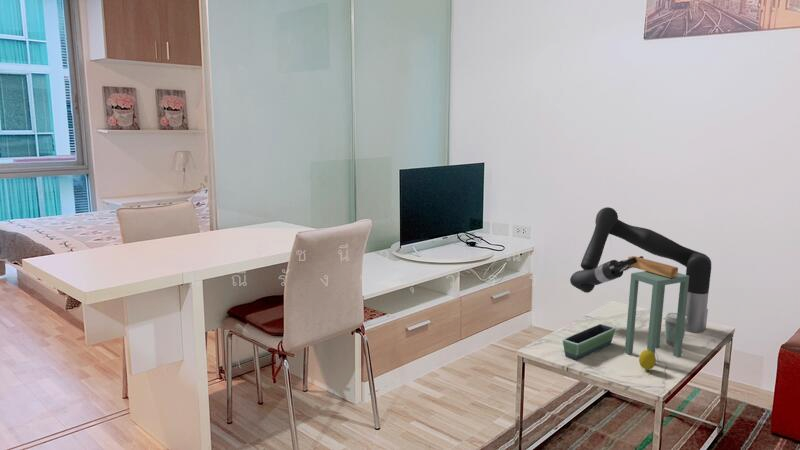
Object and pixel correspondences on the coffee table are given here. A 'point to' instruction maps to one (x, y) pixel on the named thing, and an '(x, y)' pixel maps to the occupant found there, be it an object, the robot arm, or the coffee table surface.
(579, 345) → the planter
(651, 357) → the lemon
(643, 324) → the coffee table surface
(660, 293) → the tall green stool
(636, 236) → the robot arm
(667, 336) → the coffee cup
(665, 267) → the block
